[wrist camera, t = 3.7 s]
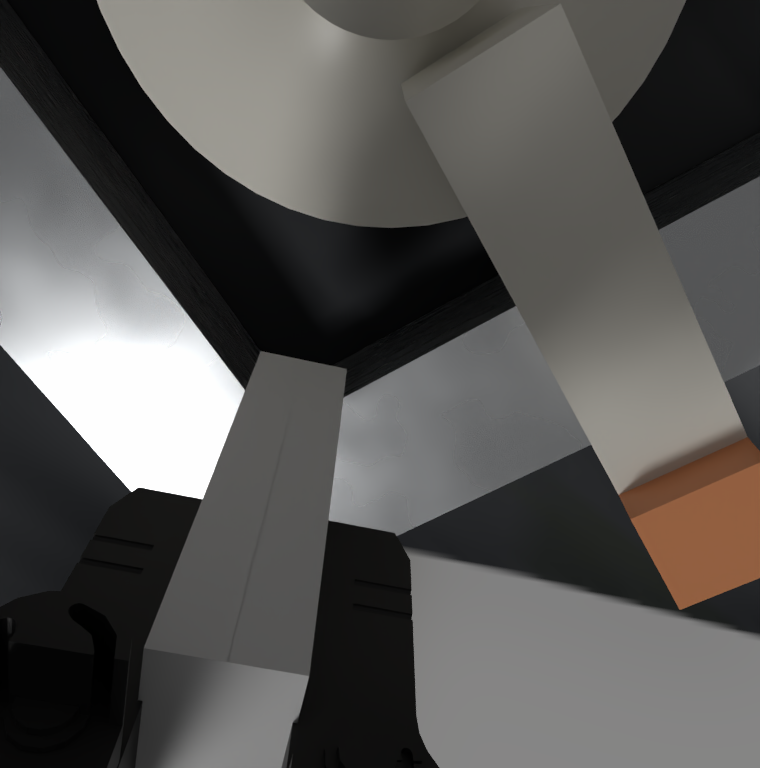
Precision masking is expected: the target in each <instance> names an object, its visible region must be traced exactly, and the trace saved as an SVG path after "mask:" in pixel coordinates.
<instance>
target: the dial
mask: <svg viewBox="0 0 760 768" xmlns="http://www.w3.org/2000/svg"><path fill="white" fill-rule="evenodd" d="M97 2H98V5H99V8H100V11H101V13H102V15H103V17H104V19H105V21H106V24H107V26H108V28H109V30H110V32H111V34H112V36H113V39H114V41H115V43H116V45H117V47H118V49H119V51H120V53H121V55H122V56H123V58H124V59H125V61H126V63H127V64H128V66H129V68H130V69H131V71H132V73H133V74H134V76H135V78H136V79H137V81H138V83H139V84H140V86H141V87H142V89H143V90H144V91H145V93H146V94H147V95H148V97H149V98H150V99H151V100H152V102H153V103H154V104H155V106H156V107H157V108H158V110H159V111H160V112H161V113H162V115H163V116H164V117H165V119H166V120H167V121H168V122H169V123H170V124H171V125H172V126H173V127H174V128H175V129H176V130H177V131H178V132H179V133H180V134H181V135H182V136H183V137H184V138H185V140H186V141H187V142H188V143H189V144H190V145H191V146H192V147H193V148H194V149H195V150H197V151H198V152H199V153H200V154H201V155H203V156H204V157H205V158H206V159H208V160H209V161H210V162H211V163H213V164H214V165H215V166H216V167H217V168H219V169H220V170H221V171H222V172H224V173H225V174H226V175H228V176H230V177H231V178H233V179H234V180H236V181H238V182H239V183H241V184H242V185H244V186H246V187H247V188H249V189H250V190H252V191H253V192H255V193H257V194H259V195H261V196H263V197H265V198H267V199H270V200H272V201H274V202H276V203H278V204H280V205H282V206H285V207H287V208H289V209H292V210H295V211H298V212H301V213H304V214H307V215H310V216H313V217H316V218H320V219H323V220H328V221H333V222H338V223H344V224H349V225H355V226H365V227H384V228H399V227H412V226H425V225H432V224H436V223H441V222H446V221H451V220H456V219H460V218H464V217H467V216H468V218H469V220H470V222H471V224H472V226H473V227H474V229H475V231H476V233H477V235H478V237H479V238H480V240H481V242H482V244H483V246H484V248H485V249H486V251H487V253H488V255H489V257H490V259H491V261H492V262H493V264H494V266H495V268H496V270H497V272H498V273H499V275H500V277H501V279H502V281H503V283H504V285H505V286H506V288H507V290H508V292H509V294H510V296H511V297H512V299H513V301H514V303H515V305H516V307H517V308H518V310H519V312H520V314H521V316H522V318H523V320H524V321H525V323H526V325H527V327H528V329H529V331H530V332H531V334H532V336H533V338H534V340H535V342H536V344H537V345H538V347H539V349H540V351H541V353H542V355H543V356H544V358H545V360H546V362H547V364H548V366H549V367H550V369H551V371H552V373H553V375H554V377H555V379H556V380H557V382H558V384H559V386H560V388H561V390H562V391H563V393H564V395H565V397H566V399H567V401H568V403H569V404H570V406H571V408H572V410H573V412H574V414H575V415H576V417H577V419H578V421H579V423H580V425H581V426H582V428H583V430H584V432H585V434H586V436H587V438H588V439H589V441H590V443H591V445H592V447H593V449H594V450H595V452H596V454H597V456H598V458H599V460H600V461H601V463H602V465H603V467H604V469H605V471H606V473H607V474H608V476H609V478H610V480H611V482H612V484H613V485H614V487H615V489H616V491H617V493H618V495H619V497H620V499H621V501H622V503H623V505H624V507H625V509H626V511H627V513H628V515H629V517H630V519H631V521H632V523H633V525H634V526H635V528H636V530H637V532H638V534H639V536H640V537H641V539H642V541H643V543H644V545H645V547H646V548H647V550H648V552H649V554H650V556H651V558H652V559H653V561H654V563H655V565H656V567H657V569H658V571H659V572H660V574H661V576H662V578H663V580H664V582H665V583H666V585H667V587H668V589H669V591H670V593H671V594H672V596H673V598H674V600H675V602H676V604H677V606H678V607H679V609H680V610H681V609H683V608H686V607H688V606H691V605H693V604H696V603H698V602H701V601H703V600H706V599H708V598H711V597H713V596H716V595H718V594H721V593H723V592H726V591H728V590H731V589H733V588H736V587H738V586H741V585H743V584H746V583H748V582H751V581H753V580H756V579H758V578H760V451H759V450H758V449H757V448H756V446H755V445H754V444H753V443H752V442H751V441H750V439H749V438H748V437H747V435H746V433H745V430H744V428H743V426H742V423H741V421H740V419H739V416H738V414H737V412H736V409H735V407H734V405H733V402H732V400H731V398H730V395H729V393H728V391H727V388H726V386H725V384H724V381H723V379H722V377H721V374H720V372H719V370H718V368H717V365H716V363H715V361H714V358H713V356H712V354H711V351H710V349H709V347H708V344H707V342H706V340H705V337H704V335H703V333H702V330H701V328H700V326H699V323H698V321H697V319H696V316H695V314H694V312H693V309H692V307H691V305H690V302H689V300H688V298H687V296H686V293H685V291H684V289H683V286H682V284H681V282H680V279H679V277H678V275H677V272H676V270H675V268H674V265H673V263H672V261H671V258H670V256H669V254H668V251H667V249H666V247H665V244H664V242H663V240H662V237H661V235H660V233H659V230H658V228H657V226H656V224H655V221H654V219H653V217H652V214H651V212H650V210H649V207H648V205H647V203H646V200H645V198H644V196H643V193H642V191H641V189H640V186H639V184H638V182H637V179H636V177H635V175H634V172H633V170H632V168H631V165H630V163H629V161H628V158H627V156H626V154H625V152H624V149H623V147H622V145H621V142H620V140H619V138H618V135H617V133H616V131H615V128H614V126H613V124H612V122H613V120H614V119H615V118H616V117H617V116H618V115H619V114H620V113H621V111H622V110H623V109H624V107H625V106H626V105H627V103H628V102H629V101H630V99H631V98H632V97H633V95H634V94H635V93H636V91H637V90H638V89H639V87H640V86H641V85H642V83H643V82H644V81H645V79H646V77H647V76H648V74H649V72H650V71H651V69H652V67H653V66H654V64H655V62H656V60H657V59H658V57H659V55H660V54H661V52H662V50H663V49H664V47H665V45H666V44H667V42H668V39H669V37H670V35H671V33H672V31H673V28H674V26H675V24H676V22H677V20H678V17H679V15H680V13H681V11H682V9H683V6H684V4H685V2H686V0H97Z"/></svg>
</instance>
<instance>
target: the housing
mask: <svg viewBox="0 0 760 768" xmlns="http://www.w3.org/2000/svg"><path fill="white" fill-rule="evenodd" d="M643 196H644V198H645V200H646V203H647V205H648V207H649V210H650V212H651V214H652V217H653V219H654V221H655V224H656V226H657V228H658V230H659V233H660V235H661V237H662V240H663V242H664V244H665V247H666V249H667V251H668V254H669V256H670V258H671V261H672V263H673V265H674V268H675V270H676V272H677V275H678V277H679V279H680V282H681V284H682V286H683V289H684V291H685V293H686V296H687V298H688V300H689V302H690V305H691V307H692V309H693V312H694V314H695V316H696V319H697V321H698V323H699V326H700V328H701V330H702V333H703V335H704V337H705V340H706V342H707V344H708V347H709V349H710V351H711V354H712V356H713V358H714V361H715V363H716V365H717V368H718V370H719V372H720V374H721V377H722V379H723V381H724V382H725V381H727V380H729V379H731V378H733V377H736V376H738V375H740V374H742V373H744V372H746V371H748V370H751V369H753V368H755V367H757V366H759V365H760V132H758V133H756V134H755V135H753V136H751V137H749V138H747V139H745V140H744V141H742V142H740V143H738V144H736V145H734V146H733V147H731V148H729V149H727V150H725V151H723V152H722V153H720V154H718V155H716V156H714V157H712V158H711V159H709V160H707V161H705V162H703V163H701V164H700V165H698V166H696V167H694V168H692V169H690V170H689V171H687V172H685V173H683V174H681V175H679V176H678V177H676V178H674V179H672V180H670V181H669V182H667V183H665V184H663V185H661V186H659V187H658V188H656V189H654V190H652V191H650V192H648V193H647V194H645V195H643ZM0 345H1V346H2V347H3V348H4V350H5V351H6V352H7V353H8V354H9V355H10V356H11V357H12V358H13V360H14V361H15V362H16V363H17V364H18V365H19V366H20V367H21V369H22V370H23V371H24V372H25V373H26V374H27V375H28V376H29V377H30V379H31V380H32V381H33V382H34V383H35V384H36V385H37V386H38V388H39V389H40V390H41V391H42V392H43V393H44V394H45V395H46V396H47V398H48V399H49V400H50V401H51V402H52V403H53V404H54V405H55V407H56V408H57V409H58V410H59V411H60V412H61V413H62V414H63V415H64V417H65V418H66V419H67V420H68V421H69V422H70V423H71V424H72V426H73V427H74V428H75V429H76V430H77V431H78V432H79V433H80V434H81V436H82V437H83V438H84V439H85V440H86V441H87V442H88V443H89V445H90V446H91V447H92V448H93V449H94V450H95V451H96V452H97V453H98V455H99V456H100V457H101V458H102V459H103V460H104V461H105V462H106V464H107V465H108V466H109V467H110V468H111V469H112V470H113V471H114V472H115V474H116V475H117V476H118V477H119V478H120V479H121V480H122V481H123V483H124V484H125V485H126V486H127V487H128V488H129V489H130V490H131V491H133V490H135V489H136V488H138V487H141V488H147V489H152V490H157V491H163V492H168V493H173V494H178V495H184V496H189V497H194V498H200V499H203V496H204V494H205V491H206V489H207V486H208V484H209V481H210V479H211V476H212V474H213V471H214V468H215V466H216V463H217V461H218V458H219V456H220V453H221V451H222V448H223V446H224V443H225V441H226V438H227V435H228V433H229V430H230V428H231V425H232V423H233V420H234V418H235V415H236V413H237V410H238V407H239V405H240V402H241V400H242V397H243V395H244V392H245V390H246V387H247V385H248V382H249V380H250V377H251V374H252V372H253V369H254V367H255V364H256V362H257V359H258V357H259V354H260V352H261V350H260V348H259V347H258V346H257V344H256V343H255V342H254V340H253V339H252V337H251V336H250V335H249V333H248V332H247V331H246V329H245V328H244V326H243V325H242V324H241V322H240V321H239V320H238V318H237V317H236V315H235V314H234V313H233V311H232V310H231V309H230V307H229V306H228V304H227V303H226V302H225V300H224V299H223V298H222V296H221V295H220V293H219V292H218V291H217V289H216V288H215V287H214V285H213V284H212V282H211V281H210V280H209V278H208V277H207V275H206V274H205V273H204V271H203V270H202V269H201V267H200V266H199V264H198V263H197V262H196V260H195V259H194V258H193V256H192V255H191V253H190V252H189V251H188V249H187V248H186V247H185V245H184V244H183V242H182V241H181V240H180V238H179V237H178V236H177V234H176V233H175V231H174V230H173V229H172V227H171V226H170V225H169V223H168V222H167V220H166V219H165V218H164V216H163V215H162V214H161V212H160V211H159V209H158V208H157V207H156V205H155V204H154V203H153V201H152V200H151V198H150V197H149V196H148V194H147V193H146V192H145V190H144V189H143V187H142V186H141V185H140V183H139V182H138V180H137V179H136V178H135V176H134V175H133V174H132V172H131V171H130V169H129V168H128V167H127V165H126V164H125V163H124V161H123V160H122V158H121V157H120V156H119V154H118V153H117V152H116V150H115V149H114V147H113V146H112V145H111V143H110V142H109V141H108V139H107V138H106V136H105V135H104V134H103V132H102V131H101V130H100V128H99V127H98V125H97V124H96V123H95V121H94V120H93V119H92V117H91V116H90V114H89V113H88V112H87V110H86V109H85V108H84V106H83V105H82V103H81V102H80V101H79V99H78V98H77V97H76V95H75V94H74V92H73V91H72V90H71V88H70V87H69V85H68V84H67V83H66V81H65V80H64V79H63V77H62V76H61V74H60V73H59V72H58V70H57V69H56V68H55V66H54V65H53V63H52V62H51V61H50V59H49V58H48V57H47V55H46V54H45V52H44V51H43V50H42V48H41V47H40V46H39V44H38V43H37V41H36V40H35V39H34V37H33V36H32V35H31V33H30V32H29V30H28V29H27V28H26V26H25V25H24V24H23V22H22V21H21V19H20V18H19V17H18V15H17V14H16V13H15V11H14V10H13V8H12V7H11V6H10V4H9V3H8V2H7V0H0ZM332 366H335V367H340V368H344V369H347V373H346V382H345V390H344V398H343V406H342V414H341V422H340V430H339V438H338V447H337V455H336V463H335V471H334V479H333V487H332V495H331V503H330V512H329V521H334V522H340V523H345V524H350V525H356V526H361V527H366V528H371V529H377V530H382V531H387V532H393V533H395V534H396V536H398V535H400V534H402V533H404V532H406V531H408V530H410V529H412V528H415V527H417V526H419V525H421V524H423V523H425V522H427V521H429V520H432V519H434V518H436V517H438V516H440V515H442V514H444V513H446V512H449V511H451V510H453V509H455V508H457V507H459V506H461V505H463V504H466V503H468V502H470V501H472V500H474V499H476V498H478V497H480V496H483V495H485V494H487V493H489V492H491V491H493V490H495V489H497V488H500V487H502V486H504V485H506V484H508V483H510V482H512V481H514V480H517V479H519V478H521V477H523V476H525V475H527V474H529V473H532V472H534V471H536V470H538V469H540V468H542V467H544V466H546V465H549V464H551V463H553V462H555V461H557V460H559V459H561V458H563V457H566V456H568V455H570V454H572V453H574V452H576V451H578V450H580V449H583V448H585V447H587V446H589V445H591V443H590V441H589V439H588V438H587V436H586V434H585V432H584V430H583V428H582V426H581V425H580V423H579V421H578V419H577V417H576V415H575V414H574V412H573V410H572V408H571V406H570V404H569V403H568V401H567V399H566V397H565V395H564V393H563V391H562V390H561V388H560V386H559V384H558V382H557V380H556V379H555V377H554V375H553V373H552V371H551V369H550V367H549V366H548V364H547V362H546V360H545V358H544V356H543V355H542V353H541V351H540V349H539V347H538V345H537V344H536V342H535V340H534V338H533V336H532V334H531V332H530V331H529V329H528V327H527V325H526V323H525V321H524V320H523V318H522V316H521V314H520V312H519V310H518V308H517V307H516V305H515V303H514V301H513V299H512V297H511V296H510V294H509V292H508V290H507V288H506V286H505V285H504V283H503V281H502V279H501V277H500V275H499V274H498V275H497V276H495V277H493V278H491V279H489V280H487V281H486V282H484V283H482V284H480V285H478V286H476V287H475V288H473V289H471V290H469V291H467V292H465V293H464V294H462V295H460V296H458V297H456V298H454V299H453V300H451V301H449V302H447V303H445V304H443V305H442V306H440V307H438V308H436V309H434V310H432V311H431V312H429V313H427V314H425V315H423V316H421V317H420V318H418V319H416V320H414V321H412V322H411V323H409V324H407V325H405V326H403V327H401V328H400V329H398V330H396V331H394V332H392V333H390V334H389V335H387V336H385V337H383V338H381V339H379V340H378V341H376V342H374V343H372V344H370V345H368V346H367V347H365V348H363V349H361V350H359V351H357V352H356V353H354V354H352V355H350V356H348V357H346V358H345V359H343V360H341V361H339V362H337V363H335V364H334V365H332Z"/></svg>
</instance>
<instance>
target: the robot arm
mask: <svg viewBox="0 0 760 768" xmlns="http://www.w3.org/2000/svg"><path fill="white" fill-rule="evenodd" d="M346 373H347V369H344V368H340V367H335V366H330V365H325V364H320V363H316V362H311V361H306V360H301V359H296V358H292V357H287V356H282V355H277V354H272V353H268V352H263V351H261V352H260V354H259V357H258V359H257V362H256V364H255V367H254V369H253V372H252V374H251V377H250V380H249V382H248V385H247V387H246V390H245V392H244V395H243V397H242V400H241V402H240V405H239V407H238V410H237V413H236V415H235V418H234V420H233V423H232V425H231V428H230V430H229V433H228V435H227V438H226V441H225V443H224V446H223V448H222V451H221V453H220V456H219V458H218V461H217V463H216V466H215V468H214V471H213V474H212V476H211V479H210V481H209V484H208V486H207V489H206V491H205V494H204V496H203V499H200V498H194V497H189V496H184V495H178V494H173V493H168V492H163V491H157V490H152V489H147V488H141V487H138V488H136V489H135V490H133V491H132V492H131V493H129V494H128V495H126V496H125V497H123V498H122V499H121V500H119V501H118V502H116V503H115V504H113V505H112V506H110V507H109V509H108V511H107V513H106V514H105V516H104V518H103V519H102V521H101V523H100V525H99V526H98V528H97V530H96V532H95V533H94V537H93V540H90V542H89V544H88V545H87V547H86V549H85V551H84V552H83V554H82V556H81V558H80V562H79V563H77V564H76V566H75V568H74V570H73V571H72V573H71V575H70V576H69V578H68V580H67V582H66V583H65V585H64V587H63V589H62V590H61V591H47V592H43V593H38V594H34V595H29V596H25V597H20V598H17V599H15V600H13V601H11V602H9V603H7V604H5V605H3V606H1V607H0V768H439V767H438V765H437V764H436V763H435V761H434V760H433V759H432V757H431V756H430V754H429V753H428V751H427V749H426V747H425V745H424V743H423V740H422V738H421V736H420V734H419V729H418V723H417V718H416V699H415V675H414V674H415V673H414V647H413V622H412V620H411V617H412V596H411V595H410V594H411V569H410V559H409V558H408V556H407V554H406V552H405V550H404V549H403V547H402V545H401V543H400V541H399V540H398V538H397V536H396V534H395V533H393V532H387V531H382V530H377V529H371V528H366V527H361V526H356V525H350V524H345V523H340V522H334V521H329V512H330V503H331V495H332V487H333V479H334V471H335V463H336V455H337V447H338V438H339V430H340V422H341V414H342V406H343V398H344V390H345V382H346Z"/></svg>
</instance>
